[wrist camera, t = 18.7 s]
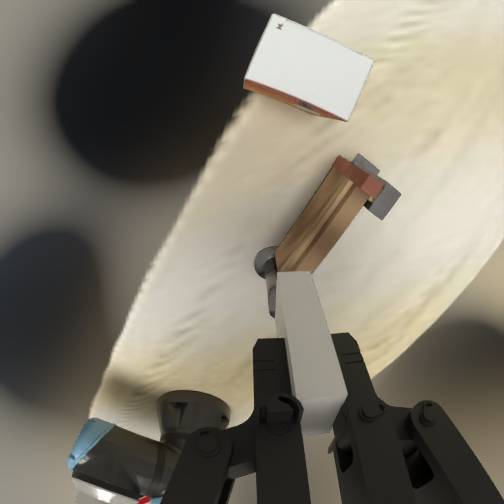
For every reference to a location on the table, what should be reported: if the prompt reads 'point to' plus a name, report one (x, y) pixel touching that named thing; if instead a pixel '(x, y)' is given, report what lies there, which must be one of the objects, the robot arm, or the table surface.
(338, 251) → the table surface
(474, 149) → the table surface
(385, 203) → the latch post
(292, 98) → the small box
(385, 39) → the table surface
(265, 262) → the pivot post
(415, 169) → the table surface
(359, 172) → the gate
